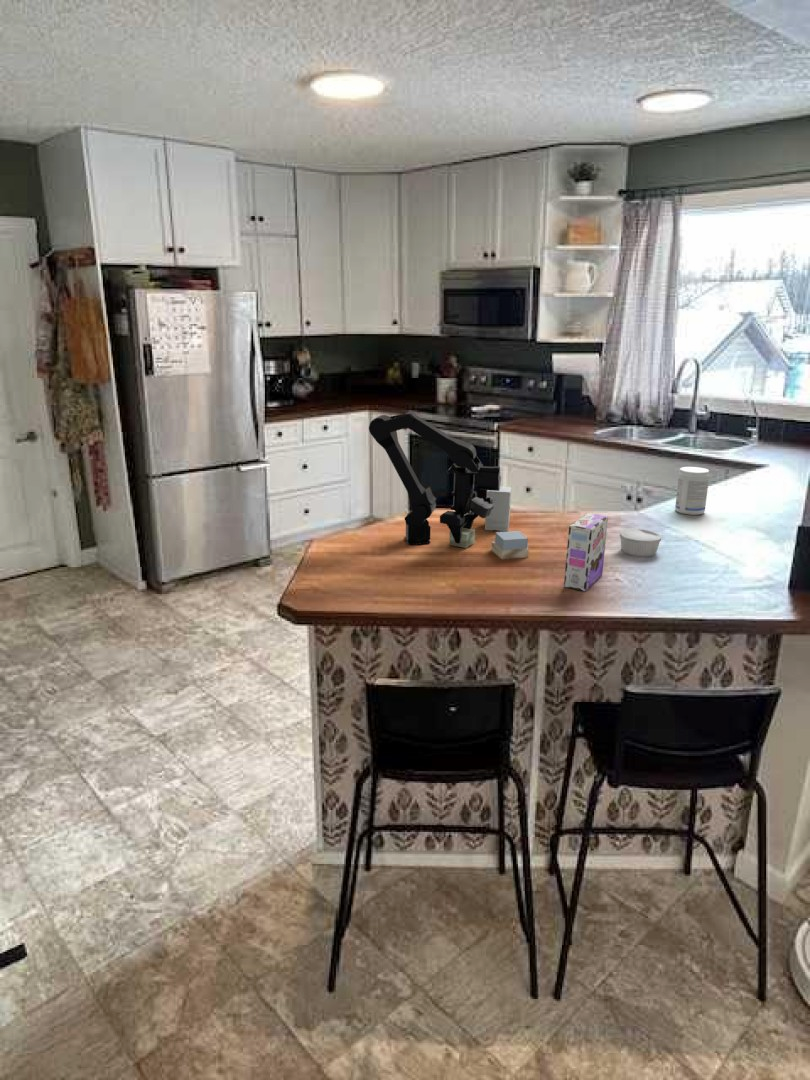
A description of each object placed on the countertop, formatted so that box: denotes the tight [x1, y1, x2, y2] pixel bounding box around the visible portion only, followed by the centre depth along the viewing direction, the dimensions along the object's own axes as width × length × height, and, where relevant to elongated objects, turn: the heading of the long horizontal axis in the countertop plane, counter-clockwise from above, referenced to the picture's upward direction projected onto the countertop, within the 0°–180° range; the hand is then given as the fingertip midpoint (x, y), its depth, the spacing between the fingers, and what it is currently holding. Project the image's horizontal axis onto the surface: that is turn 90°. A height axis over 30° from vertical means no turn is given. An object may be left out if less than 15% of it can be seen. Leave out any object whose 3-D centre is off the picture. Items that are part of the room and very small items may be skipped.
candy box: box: [563, 512, 609, 592], centre depth 187 cm, size 14×6×16 cm, turn 148°
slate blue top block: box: [494, 530, 529, 550], centre depth 207 cm, size 7×7×3 cm
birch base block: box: [490, 540, 530, 560], centre depth 209 cm, size 8×8×3 cm
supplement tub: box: [674, 466, 710, 516], centre depth 248 cm, size 10×10×15 cm
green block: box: [448, 528, 476, 549], centre depth 215 cm, size 6×6×4 cm
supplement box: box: [484, 485, 512, 532], centre depth 230 cm, size 7×7×13 cm
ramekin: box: [619, 528, 662, 558], centre depth 211 cm, size 11×11×5 cm
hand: (462, 540), depth 215 cm, fingers closed on green block, 5 cm apart
